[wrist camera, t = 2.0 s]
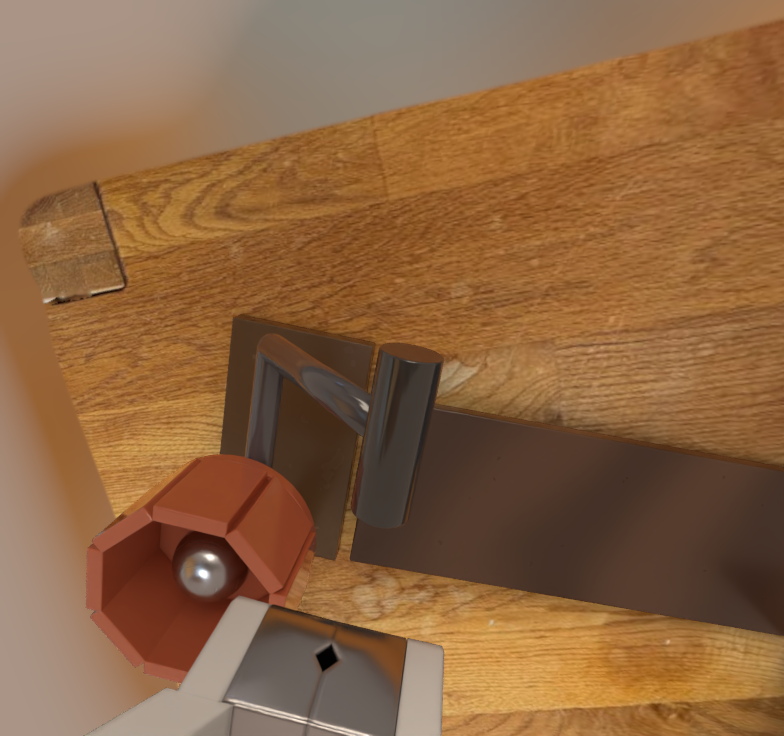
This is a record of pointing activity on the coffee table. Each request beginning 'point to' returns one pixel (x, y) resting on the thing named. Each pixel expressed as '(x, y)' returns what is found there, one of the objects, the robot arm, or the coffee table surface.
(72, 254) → the coffee table surface
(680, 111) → the coffee table surface
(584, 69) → the coffee table surface
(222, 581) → the steel ball
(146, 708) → the robot arm
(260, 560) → the terracotta cup
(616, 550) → the ramp
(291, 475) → the cup stand
